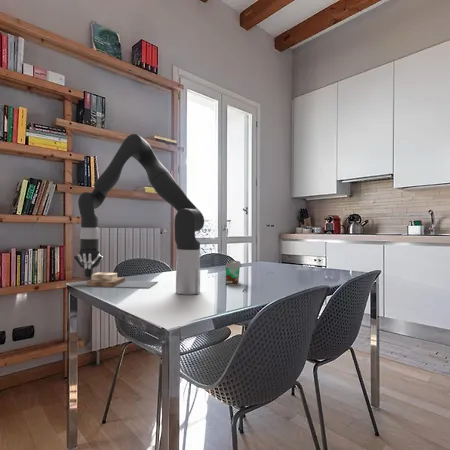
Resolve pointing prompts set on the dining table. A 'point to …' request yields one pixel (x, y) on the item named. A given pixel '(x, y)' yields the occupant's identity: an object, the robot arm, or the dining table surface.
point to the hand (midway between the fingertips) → (88, 277)
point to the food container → (232, 272)
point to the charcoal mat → (136, 284)
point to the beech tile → (104, 276)
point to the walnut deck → (106, 282)
